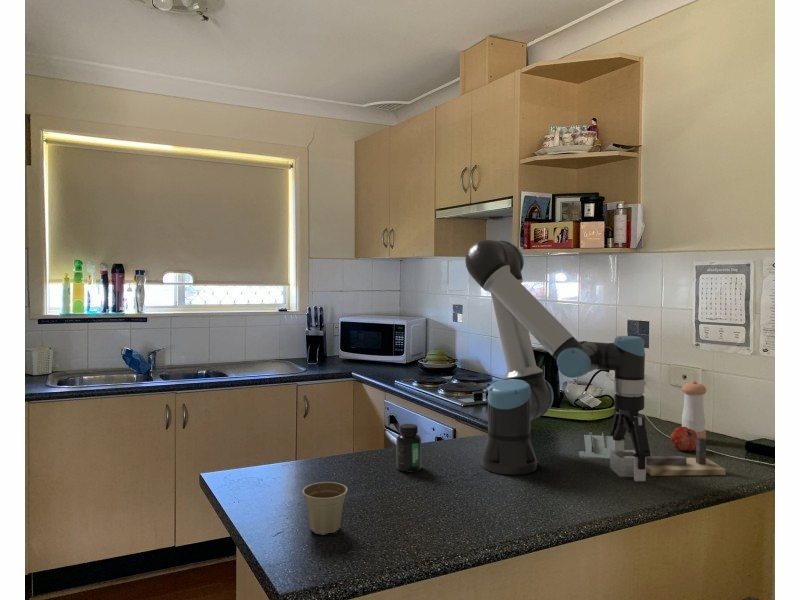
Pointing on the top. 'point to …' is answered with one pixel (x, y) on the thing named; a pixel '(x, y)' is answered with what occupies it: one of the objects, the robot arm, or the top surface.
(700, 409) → the pepper shaker
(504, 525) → the top surface
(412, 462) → the supplement bottle
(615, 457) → the grey square socket block
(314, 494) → the flower pot
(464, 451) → the top surface
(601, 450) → the metal bracket
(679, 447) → the pomegranate
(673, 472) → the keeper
